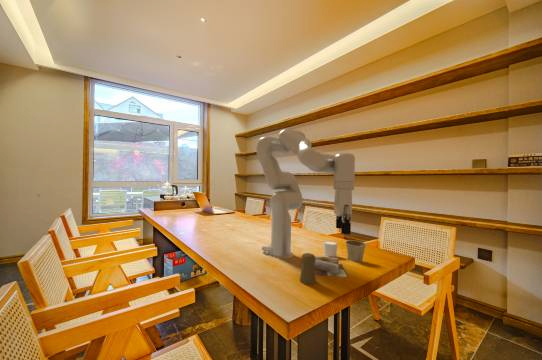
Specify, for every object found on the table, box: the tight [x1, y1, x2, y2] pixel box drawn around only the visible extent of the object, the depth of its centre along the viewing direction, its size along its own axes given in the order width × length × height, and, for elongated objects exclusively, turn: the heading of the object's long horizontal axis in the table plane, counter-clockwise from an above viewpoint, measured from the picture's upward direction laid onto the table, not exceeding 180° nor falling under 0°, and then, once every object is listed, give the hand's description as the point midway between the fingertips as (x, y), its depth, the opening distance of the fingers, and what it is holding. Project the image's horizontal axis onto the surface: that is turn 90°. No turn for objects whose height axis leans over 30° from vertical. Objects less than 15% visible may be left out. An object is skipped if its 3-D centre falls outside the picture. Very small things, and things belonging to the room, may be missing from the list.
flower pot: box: [344, 239, 367, 263], centre depth 110 cm, size 9×9×9 cm
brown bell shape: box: [299, 252, 317, 286], centre depth 85 cm, size 6×6×11 cm
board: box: [314, 255, 349, 278], centre depth 97 cm, size 17×14×4 cm
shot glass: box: [322, 240, 338, 258], centre depth 115 cm, size 7×7×7 cm
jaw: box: [314, 259, 339, 274], centre depth 96 cm, size 15×3×4 cm, turn 53°
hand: (342, 230), depth 90 cm, fingers open, 9 cm apart
